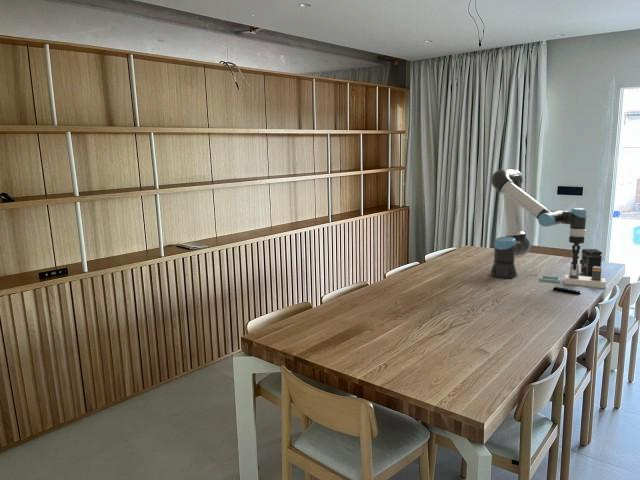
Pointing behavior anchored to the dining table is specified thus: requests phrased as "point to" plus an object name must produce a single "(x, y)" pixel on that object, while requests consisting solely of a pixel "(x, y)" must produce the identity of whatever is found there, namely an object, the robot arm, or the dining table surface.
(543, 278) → the tray
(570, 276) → the plug
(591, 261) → the camera
